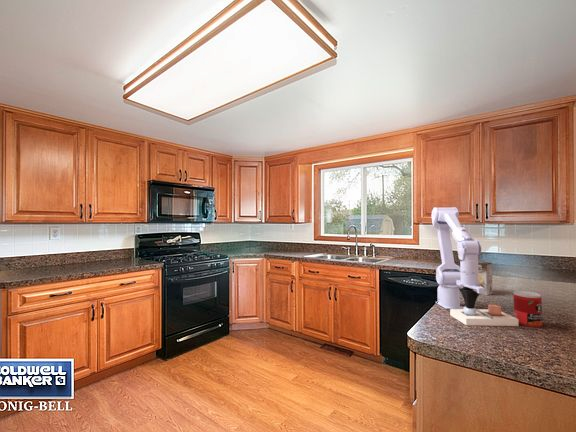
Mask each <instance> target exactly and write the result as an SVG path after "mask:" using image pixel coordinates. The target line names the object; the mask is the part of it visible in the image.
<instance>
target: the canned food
mask: <svg viewBox="0 0 576 432" xmlns="http://www.w3.org/2000/svg"><path fill="white" fill-rule="evenodd" d="M512 297H513V317H515V318H517V319H518V324H519V325H522V326H524V327H530V328H540V327H542V325H543V307H542V305H543V302H542V301H543V300H542V295H541V294H540V293H537V292H534V291H529V290H515V291H513V296H512Z"/></svg>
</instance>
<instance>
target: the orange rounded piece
mask: <svg viewBox="0 0 576 432" xmlns="http://www.w3.org/2000/svg"><path fill="white" fill-rule="evenodd" d="M487 309H488V314H489V315H491V316H501V312H502V305H497V304H490V303H489V304H487Z"/></svg>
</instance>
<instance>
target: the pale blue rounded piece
mask: <svg viewBox="0 0 576 432" xmlns="http://www.w3.org/2000/svg"><path fill="white" fill-rule="evenodd" d="M463 307H464V314H465V315H466V316H476V309H477V308H476V307H474V309H469V308H466V305H465V306H463Z"/></svg>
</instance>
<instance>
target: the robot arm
mask: <svg viewBox="0 0 576 432" xmlns="http://www.w3.org/2000/svg"><path fill="white" fill-rule="evenodd" d="M430 216H431V223H432V226H433V228H435V229H436V232H437V241H438V245H439V250H440V251H439V252H440V258H441V264H440V265H439V266H437V267H436V270H435V272H436V274H435V280H436V282H437V284H438V287H437V290H436V291H437V301H435V304H437V305H439V306H440V307H442V308H444V309H446V310H450V309H464V307H465V306H466V308H469V309H474V308H475V305H476V302H477V299H478V298H479V296H480V295H482V294H485V289H484V288H483V287H481V286H480V285H479V283H478V261H479V256H480V255H481V254H482V245H481V243H480V241H479V239H475V238H473V237H472V235H471V234H470V232H469V230H468V229H467V228H466V227H463V226H462V224H461V222H460V220H459V217H460V211H459V209H458V208H457V207H456V206H453V207H433V209H432V210H431V215H430ZM450 229H451V230H452V231H451V235H450ZM451 236H452V237H453V239H454V242H455V243H456V251H457V254H458V255H457V256H458V259H459V263H460V265H458V264H456V263H455V258H454V252H453V245H452V240H451V239H452V238H451ZM461 295H462V297H463V298H462V299H463V301H464V305H465V306H462V305H461ZM438 301H439V302H438ZM437 302H438V303H437Z"/></svg>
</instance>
